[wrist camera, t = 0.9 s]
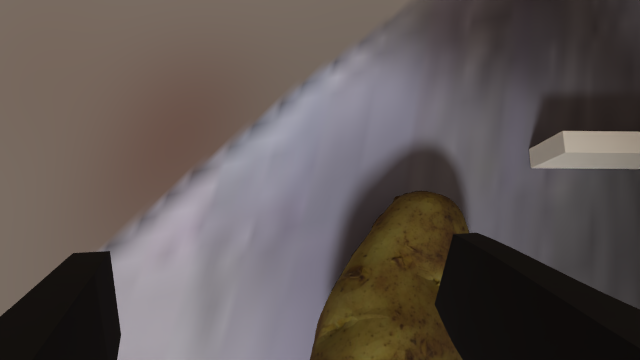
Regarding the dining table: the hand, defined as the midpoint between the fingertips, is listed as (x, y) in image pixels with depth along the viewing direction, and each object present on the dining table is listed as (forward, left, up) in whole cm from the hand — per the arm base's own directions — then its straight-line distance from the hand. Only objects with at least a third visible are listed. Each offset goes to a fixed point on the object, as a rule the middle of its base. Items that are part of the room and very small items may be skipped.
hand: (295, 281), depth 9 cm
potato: (-2, -5, -16) cm, 16 cm away
